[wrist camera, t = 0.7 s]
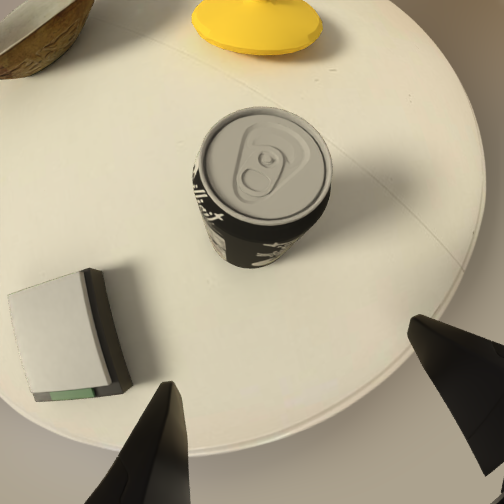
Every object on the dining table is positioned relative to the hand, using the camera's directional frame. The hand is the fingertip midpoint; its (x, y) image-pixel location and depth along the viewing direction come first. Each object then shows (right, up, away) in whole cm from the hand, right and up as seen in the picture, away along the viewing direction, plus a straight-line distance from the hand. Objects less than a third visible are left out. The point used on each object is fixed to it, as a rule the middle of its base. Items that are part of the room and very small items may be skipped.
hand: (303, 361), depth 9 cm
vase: (-1, +31, +19) cm, 37 cm away
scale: (-18, -4, +11) cm, 21 cm away
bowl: (-33, +35, +17) cm, 51 cm away
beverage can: (-2, +6, +14) cm, 15 cm away
